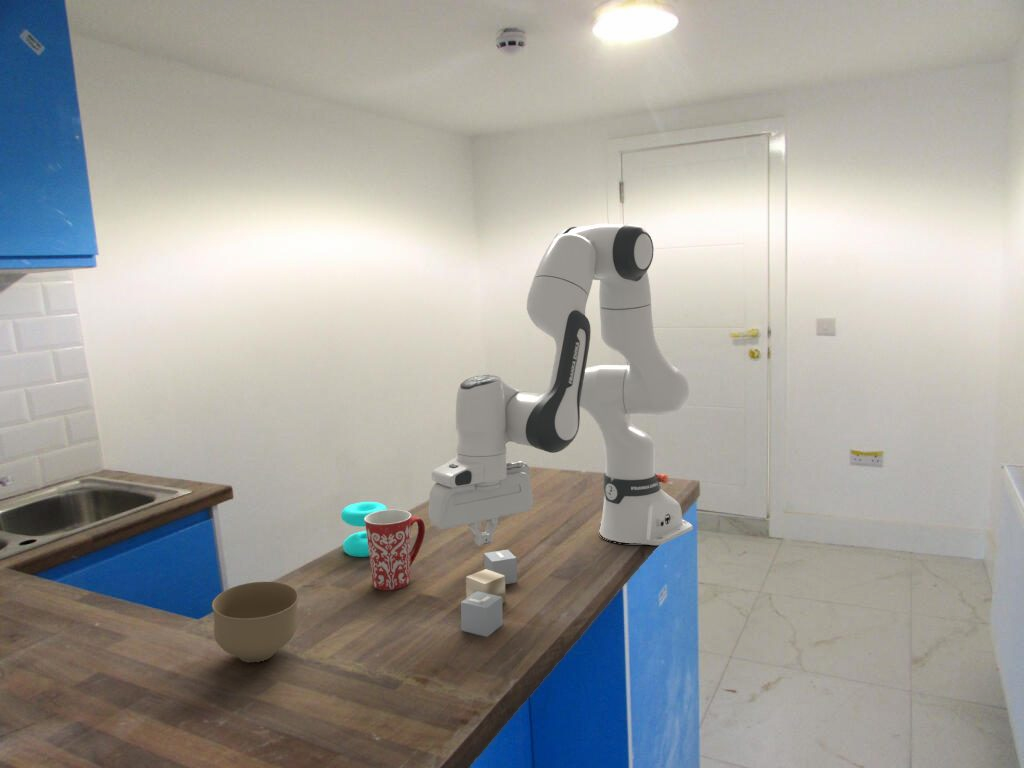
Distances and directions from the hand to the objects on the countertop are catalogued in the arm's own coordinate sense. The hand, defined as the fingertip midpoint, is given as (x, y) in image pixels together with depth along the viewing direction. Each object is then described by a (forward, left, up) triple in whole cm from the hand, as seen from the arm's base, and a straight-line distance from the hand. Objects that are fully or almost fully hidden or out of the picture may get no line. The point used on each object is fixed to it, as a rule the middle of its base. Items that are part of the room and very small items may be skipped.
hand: (483, 543), depth 129 cm
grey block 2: (-8, -7, -11) cm, 16 cm away
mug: (+8, -19, -11) cm, 24 cm away
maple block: (0, 0, -11) cm, 11 cm away
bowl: (+39, -5, -11) cm, 41 cm away
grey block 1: (+6, +8, -11) cm, 15 cm away
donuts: (+6, -39, -11) cm, 41 cm away
